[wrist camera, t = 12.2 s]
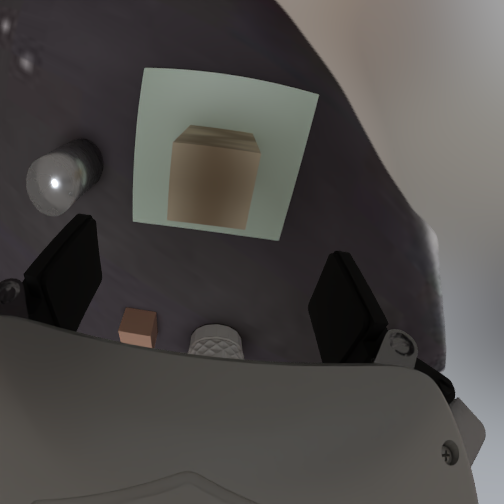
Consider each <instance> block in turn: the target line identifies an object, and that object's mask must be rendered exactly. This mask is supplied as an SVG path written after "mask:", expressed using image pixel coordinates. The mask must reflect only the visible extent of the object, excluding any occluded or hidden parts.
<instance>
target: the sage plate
mask: <svg viewBox="0 0 504 504" xmlns="http://www.w3.org/2000/svg"><path fill="white" fill-rule="evenodd" d="M318 97H319V95H318V94H315V93H311V92H308V91H304V90H300V89H297V88H293V87H289V86H285V85H280V84H276V83H271V82H267V81H262V80H257V79H252V78H246V77H240V76H234V75H228V74H221V73H213V72H204V71H194V70H182V69H166V68H144V74H143V80H142V87H141V94H140V101H139V109H138V118H137V128H136V140H135V154H134V174H133V222H141V223H149V224H157V225H165V226H173V227H181V228H189V229H196V230H204V231H211V232H219V233H226V234H233V235H241V236H248V237H255V238H262V239H269V240H276V241H279V238H280V235H281V231H282V228H283V224H284V221H285V218H286V214H287V211H288V207H289V204H290V200H291V197H292V193H293V190H294V186H295V182H296V179H297V175H298V172H299V168H300V164H301V161H302V157H303V153H304V150H305V146H306V142H307V139H308V135H309V131H310V128H311V124H312V120H313V116H314V112H315V109H316V105H317V101H318ZM190 125H195V126H204V127H212V128H220V129H228V130H234V131H241V132H247V133H253V136H254V138H255V140H256V143H257V145H258V147H259V150H260V152H261V157H260V162H259V167H258V171H257V176H256V181H255V186H254V190H253V195H252V200H251V205H250V210H249V215H248V219H247V224H246V229H245V230H242V229H234V228H227V227H219V226H211V225H202V224H194V223H186V222H177V221H168V220H167V210H168V193H169V178H170V166H171V155H172V145H173V142H174V141H175V140H176V139H177V138H178V137H179V136H180V135H181V134H182V133H183V132H184V131H185V130H186V129H187V128H188V127H189V126H190Z"/></svg>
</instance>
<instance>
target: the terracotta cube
mask: <svg viewBox="0 0 504 504" xmlns="http://www.w3.org/2000/svg"><path fill="white" fill-rule="evenodd" d="M118 332H119V336H120V340H121V342H122V343H127V344H132V345H138V346H143V347H149V348H154V347H155V342H156V337H157V333H158V331H157V317H156V312H153V311H146V310H139V309H133V308H127V307H126V309H125V312H124V315H123V318H122V321H121V324H120V327H119V330H118Z"/></svg>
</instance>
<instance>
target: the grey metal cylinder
mask: <svg viewBox="0 0 504 504" xmlns="http://www.w3.org/2000/svg"><path fill="white" fill-rule="evenodd" d="M102 171H103V158H102V155H101V152H100V151H99V149H98V147H97V146H96V145H95V144H94V143H93V142H91V141H89V140H87V139H76V140H73V141H71V142H69V143H67V144H65V145H63V146H61V147H59V148H57V149H55V150H53V151H52V152H50V153H48V154H46V155H44V156H42V157H41V158H39V159H37V160H36V161H34V162H33V163H32V165H31V166H30V168H29V170H28V173H27V178H26V186H27V192H28V195H29V197H30V200H31V201H32V203H33V204H34V206H35V207H36V208H37V209H38V210H39V211H40V212H42V213H44V214H46V215H48V216H58V215H61V214H63V213H64V212H65V211H66V210H67V209H68V208H69V207H70V206H71V205H72V204H73V203H75V202H76V201H77V200H78V199H79V198H80V197H81V196H82V195H83V194H84V193H85V192H86V191H87V190H88V189H90V188H91V187H92V186H93V185H94V184H95V183H96V182H97V181H98V180H99V178H100V176H101V174H102Z"/></svg>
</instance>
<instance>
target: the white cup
mask: <svg viewBox="0 0 504 504" xmlns="http://www.w3.org/2000/svg"><path fill="white" fill-rule="evenodd" d="M188 354H195V355H203V356H211V357H220V358H230V359H242V360H244V356H243V352H242V342H241V337H240V336H239V334H238V332H237V331H235V330H234V329H232V328H230V327H229V326H224V325H219V324H211V325H204V326H202V327H200V328H197V329H196V330H195V331H194V333H193V334H192V335H191V341H190V348H189V352H188Z"/></svg>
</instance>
